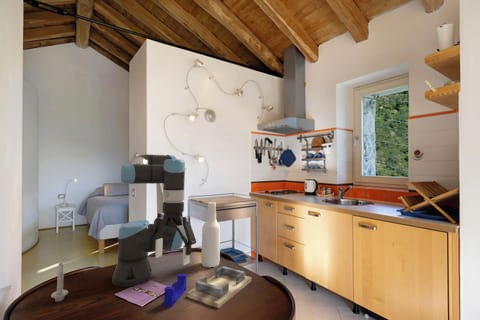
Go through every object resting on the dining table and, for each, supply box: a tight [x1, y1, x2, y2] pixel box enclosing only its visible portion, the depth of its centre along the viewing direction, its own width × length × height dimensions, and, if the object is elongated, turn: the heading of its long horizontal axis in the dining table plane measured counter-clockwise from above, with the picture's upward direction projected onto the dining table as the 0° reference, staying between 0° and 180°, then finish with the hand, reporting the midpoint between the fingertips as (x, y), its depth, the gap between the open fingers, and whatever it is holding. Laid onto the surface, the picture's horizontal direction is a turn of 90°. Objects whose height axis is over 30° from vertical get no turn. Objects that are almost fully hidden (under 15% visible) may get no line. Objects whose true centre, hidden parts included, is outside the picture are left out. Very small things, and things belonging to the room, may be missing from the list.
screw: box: [50, 261, 69, 303], centre depth 88 cm, size 13×5×5 cm
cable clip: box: [163, 273, 188, 308], centre depth 91 cm, size 12×4×6 cm, turn 170°
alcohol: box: [200, 201, 221, 269], centre depth 122 cm, size 9×9×30 cm
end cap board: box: [186, 265, 253, 309], centre depth 98 cm, size 14×24×4 cm, turn 150°
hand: (171, 260), depth 91 cm, fingers open, 13 cm apart
